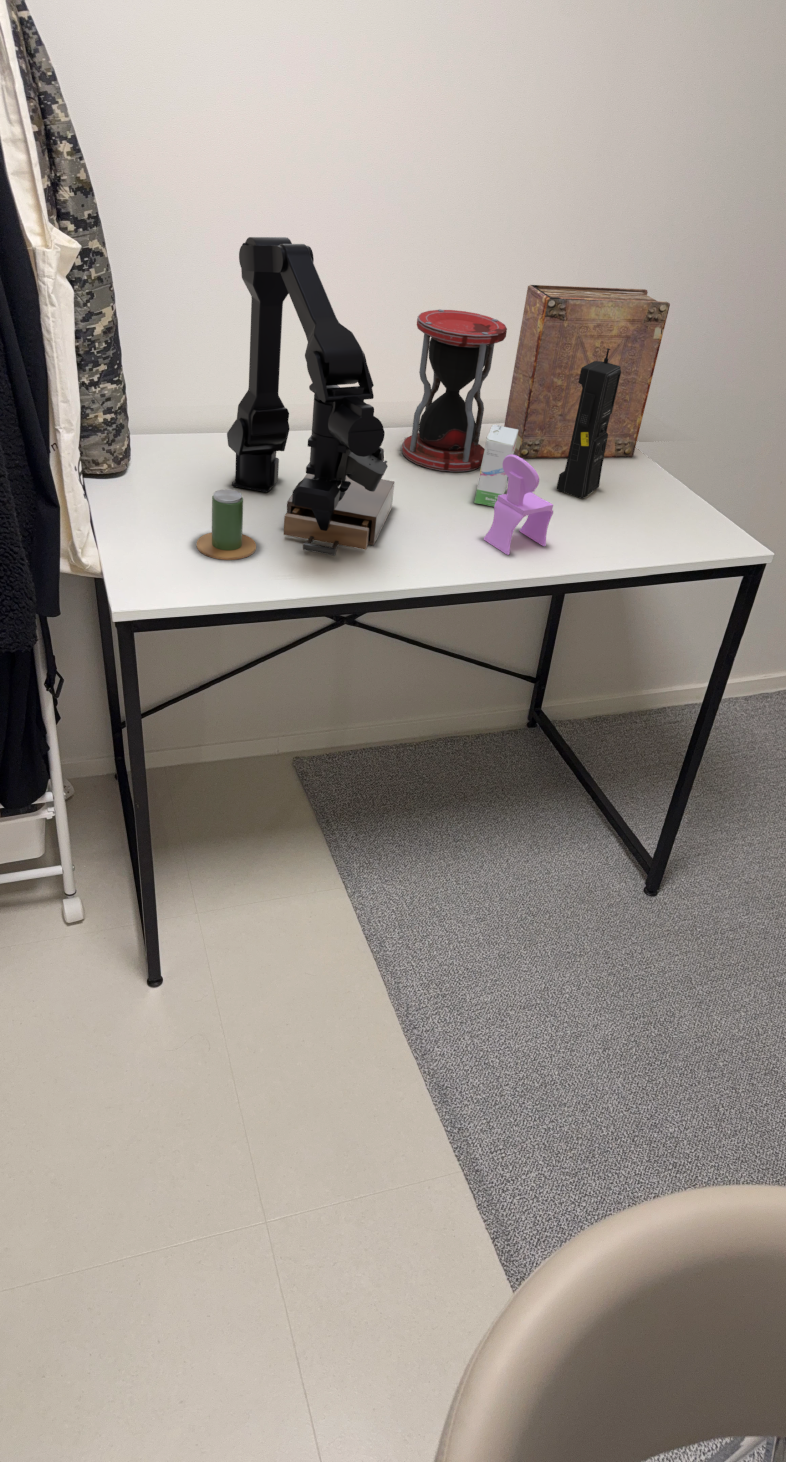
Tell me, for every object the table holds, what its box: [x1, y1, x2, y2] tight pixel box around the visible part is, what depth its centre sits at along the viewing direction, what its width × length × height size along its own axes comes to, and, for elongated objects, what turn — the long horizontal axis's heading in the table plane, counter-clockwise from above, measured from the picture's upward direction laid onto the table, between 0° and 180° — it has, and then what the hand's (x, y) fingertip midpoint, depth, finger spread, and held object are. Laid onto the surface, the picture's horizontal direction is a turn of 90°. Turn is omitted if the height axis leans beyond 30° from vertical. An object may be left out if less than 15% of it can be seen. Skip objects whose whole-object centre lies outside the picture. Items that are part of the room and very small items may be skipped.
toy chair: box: [483, 454, 554, 556], centre depth 168 cm, size 8×9×15 cm
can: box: [211, 488, 244, 550], centre depth 157 cm, size 5×5×8 cm
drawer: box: [283, 507, 372, 557], centre depth 166 cm, size 18×13×3 cm
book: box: [503, 284, 671, 459], centre depth 202 cm, size 25×9×30 cm, turn 107°
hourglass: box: [401, 308, 508, 473], centre depth 193 cm, size 16×16×25 cm
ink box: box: [473, 424, 519, 508], centre depth 183 cm, size 9×5×12 cm, turn 168°
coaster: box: [196, 532, 257, 561], centre depth 160 cm, size 9×9×1 cm
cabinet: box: [286, 473, 395, 546], centre depth 171 cm, size 15×14×5 cm
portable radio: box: [556, 348, 621, 500], centre depth 186 cm, size 8×6×25 cm
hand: (324, 529), depth 161 cm, fingers closed
